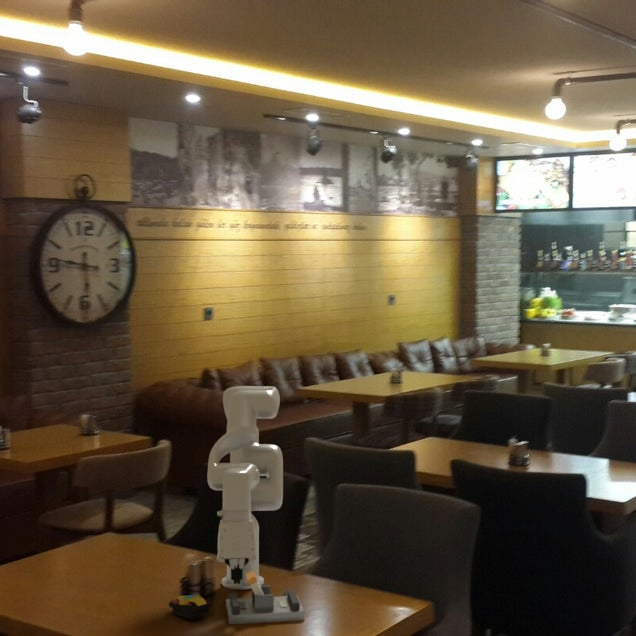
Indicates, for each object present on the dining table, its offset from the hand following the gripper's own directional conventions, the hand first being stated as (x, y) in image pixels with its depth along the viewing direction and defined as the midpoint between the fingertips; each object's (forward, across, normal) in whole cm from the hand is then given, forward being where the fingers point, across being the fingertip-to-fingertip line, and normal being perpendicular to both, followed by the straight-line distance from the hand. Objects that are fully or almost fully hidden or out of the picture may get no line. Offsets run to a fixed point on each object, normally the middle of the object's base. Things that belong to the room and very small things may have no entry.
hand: (236, 582), depth 259 cm
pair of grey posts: (+9, +7, +4) cm, 12 cm away
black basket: (+9, -13, +2) cm, 16 cm away
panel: (+9, +8, 0) cm, 12 cm away
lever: (+6, +7, 0) cm, 9 cm away
